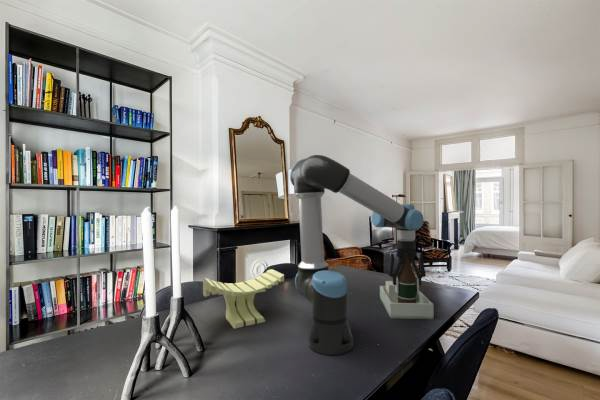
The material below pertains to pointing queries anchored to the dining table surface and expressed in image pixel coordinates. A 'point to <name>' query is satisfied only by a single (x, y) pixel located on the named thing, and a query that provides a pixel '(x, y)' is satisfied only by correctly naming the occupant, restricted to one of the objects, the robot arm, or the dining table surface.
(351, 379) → the dining table surface
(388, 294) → the off-white rectangular block
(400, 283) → the beer bottle
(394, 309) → the tote
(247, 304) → the slatted curved stool
